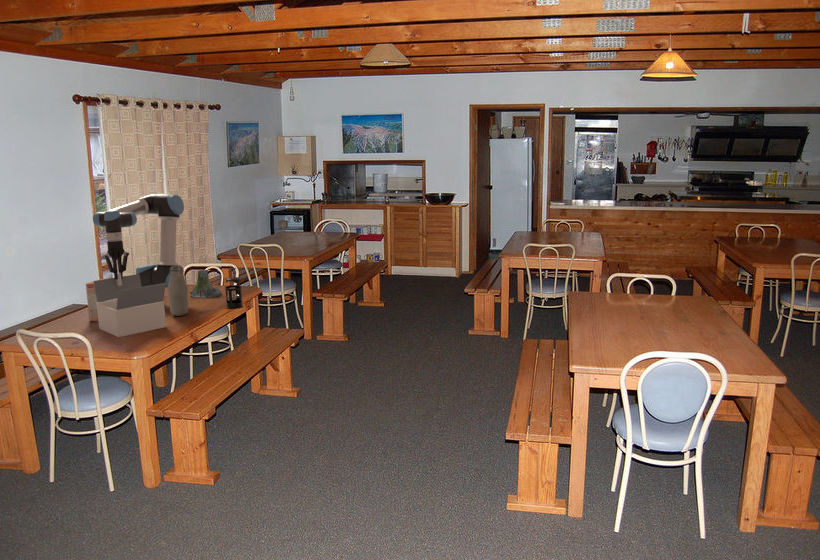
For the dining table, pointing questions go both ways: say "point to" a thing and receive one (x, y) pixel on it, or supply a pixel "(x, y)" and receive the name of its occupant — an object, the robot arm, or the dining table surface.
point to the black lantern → (233, 303)
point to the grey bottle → (178, 291)
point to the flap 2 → (140, 296)
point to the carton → (130, 318)
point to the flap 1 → (114, 287)
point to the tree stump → (204, 287)
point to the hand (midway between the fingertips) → (119, 285)
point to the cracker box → (92, 301)
